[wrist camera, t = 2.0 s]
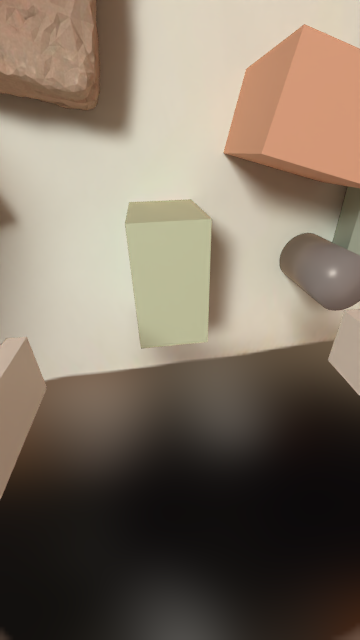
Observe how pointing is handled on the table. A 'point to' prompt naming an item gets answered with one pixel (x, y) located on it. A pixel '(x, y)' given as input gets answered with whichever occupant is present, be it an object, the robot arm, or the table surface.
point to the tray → (349, 222)
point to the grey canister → (323, 270)
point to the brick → (50, 51)
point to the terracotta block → (302, 109)
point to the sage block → (170, 271)
